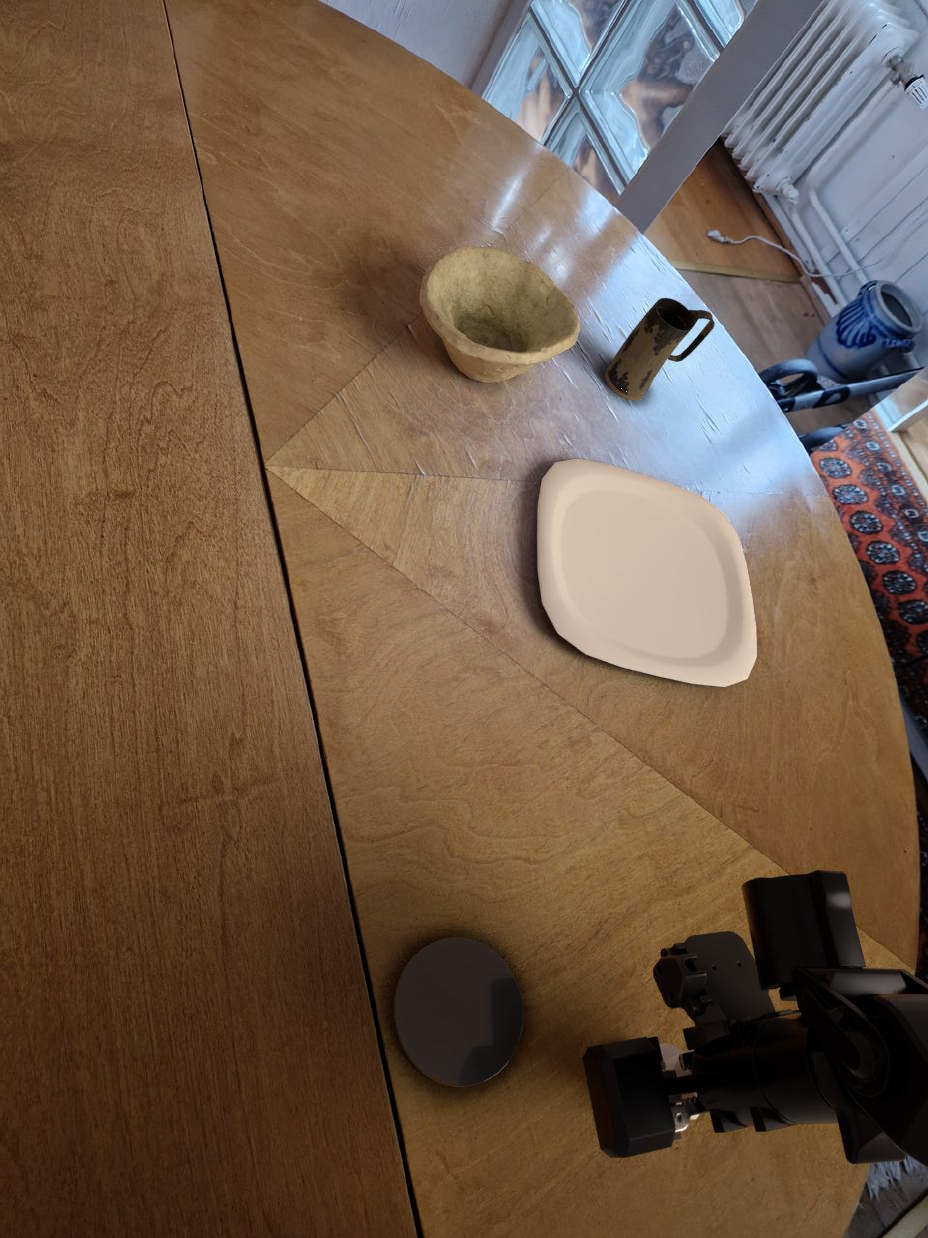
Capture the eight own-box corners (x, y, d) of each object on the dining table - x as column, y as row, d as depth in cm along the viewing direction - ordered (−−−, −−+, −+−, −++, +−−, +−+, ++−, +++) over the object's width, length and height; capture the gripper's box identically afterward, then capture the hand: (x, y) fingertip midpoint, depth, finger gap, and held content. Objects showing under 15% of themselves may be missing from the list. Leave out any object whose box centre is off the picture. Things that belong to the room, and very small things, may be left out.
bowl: (474, 435, 100) (403, 356, 89) (474, 315, 108) (409, 228, 97) (589, 396, 94) (529, 305, 83) (581, 271, 102) (525, 172, 90)
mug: (607, 395, 105) (662, 319, 96) (600, 360, 108) (652, 283, 98) (664, 407, 108) (723, 334, 99) (656, 373, 111) (712, 299, 101)
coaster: (539, 1060, 65) (542, 1059, 65) (415, 1108, 61) (417, 1108, 60) (496, 923, 69) (498, 921, 69) (376, 959, 65) (378, 957, 64)
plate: (530, 654, 83) (538, 646, 82) (531, 450, 96) (538, 440, 95) (758, 707, 90) (769, 700, 89) (730, 510, 103) (739, 501, 102)
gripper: (863, 913, 60) (725, 953, 72) (626, 943, 52) (518, 982, 65) (928, 1099, 55) (768, 1108, 67) (676, 1161, 47) (549, 1158, 60)
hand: (654, 1084), depth 65 cm, fingers closed on salt shaker, 5 cm apart
